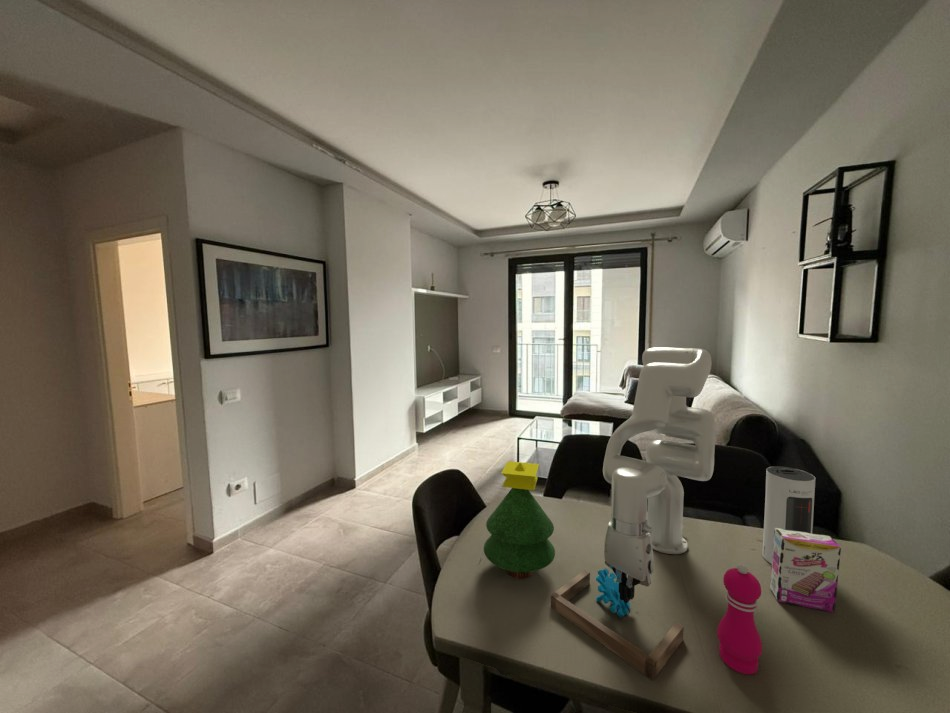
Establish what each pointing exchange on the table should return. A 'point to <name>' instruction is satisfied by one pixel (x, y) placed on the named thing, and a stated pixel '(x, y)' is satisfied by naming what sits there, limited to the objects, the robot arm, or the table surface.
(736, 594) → the pepper mill
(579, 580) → the frame
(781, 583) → the candy bar box
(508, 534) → the decorative tree
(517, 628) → the table surface
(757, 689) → the table surface
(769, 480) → the speaker
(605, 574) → the gear
